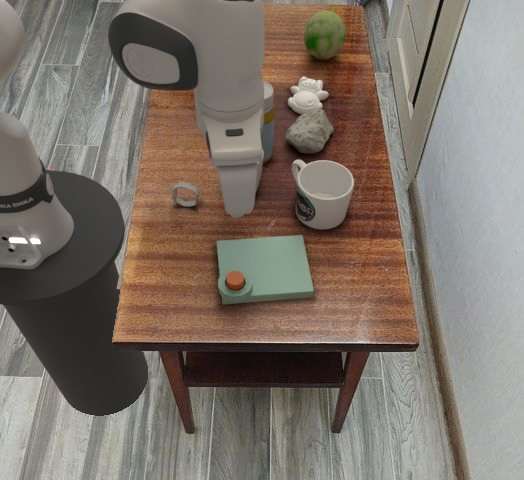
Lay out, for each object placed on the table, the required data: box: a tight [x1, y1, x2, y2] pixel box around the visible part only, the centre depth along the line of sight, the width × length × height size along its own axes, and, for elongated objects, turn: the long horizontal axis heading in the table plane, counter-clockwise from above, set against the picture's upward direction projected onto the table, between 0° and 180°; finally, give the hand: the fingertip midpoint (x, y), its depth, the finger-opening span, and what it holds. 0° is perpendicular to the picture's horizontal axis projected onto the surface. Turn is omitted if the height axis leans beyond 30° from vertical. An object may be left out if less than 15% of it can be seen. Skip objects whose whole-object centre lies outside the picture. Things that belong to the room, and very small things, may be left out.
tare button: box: [226, 271, 244, 290], centre depth 93 cm, size 3×3×2 cm
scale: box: [216, 234, 315, 305], centre depth 97 cm, size 16×14×4 cm
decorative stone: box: [285, 109, 335, 154], centre depth 116 cm, size 12×11×5 cm
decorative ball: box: [303, 10, 347, 60], centre depth 129 cm, size 10×10×10 cm
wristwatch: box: [171, 181, 200, 208], centre depth 105 cm, size 3×5×5 cm, turn 81°
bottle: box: [261, 80, 276, 164], centre depth 108 cm, size 7×7×15 cm
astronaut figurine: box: [287, 76, 330, 115], centre depth 124 cm, size 9×12×3 cm
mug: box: [291, 159, 355, 231], centre depth 104 cm, size 13×10×8 cm
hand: (233, 191), depth 83 cm, fingers open, 8 cm apart
